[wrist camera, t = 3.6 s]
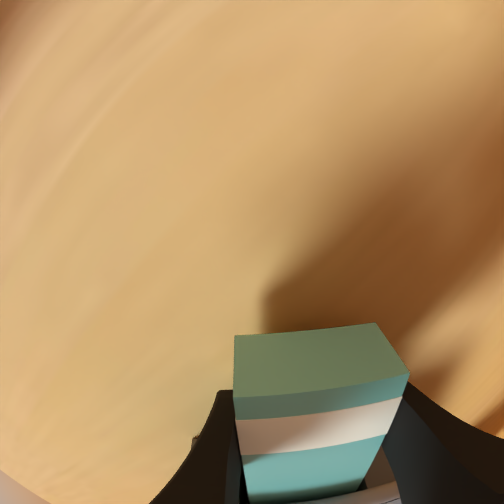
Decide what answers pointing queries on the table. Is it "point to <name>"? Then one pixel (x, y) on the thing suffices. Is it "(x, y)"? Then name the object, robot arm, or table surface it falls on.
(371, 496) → the dispenser
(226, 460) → the robot arm
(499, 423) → the table surface
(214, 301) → the table surface
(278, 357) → the teal long block
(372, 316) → the table surface
